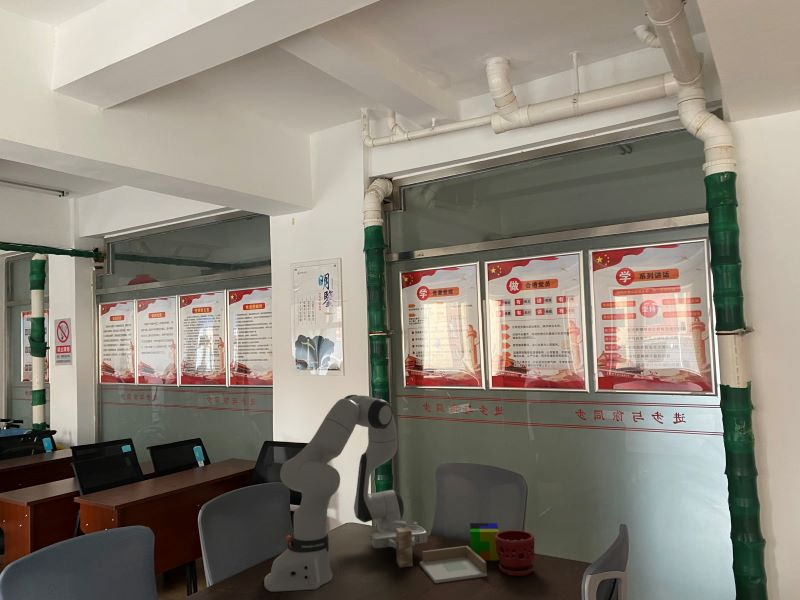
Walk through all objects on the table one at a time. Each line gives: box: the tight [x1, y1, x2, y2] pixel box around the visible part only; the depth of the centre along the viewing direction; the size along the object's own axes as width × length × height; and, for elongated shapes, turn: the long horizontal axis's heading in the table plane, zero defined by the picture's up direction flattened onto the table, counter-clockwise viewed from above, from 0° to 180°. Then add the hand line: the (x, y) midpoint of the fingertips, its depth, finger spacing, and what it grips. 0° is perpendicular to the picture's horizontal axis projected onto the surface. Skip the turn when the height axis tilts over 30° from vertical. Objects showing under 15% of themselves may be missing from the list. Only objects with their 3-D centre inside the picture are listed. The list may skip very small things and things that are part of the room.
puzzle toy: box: [469, 522, 500, 561], centre depth 223 cm, size 10×10×10 cm
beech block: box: [395, 527, 414, 568], centre depth 216 cm, size 4×4×12 cm
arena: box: [419, 545, 488, 584], centre depth 209 cm, size 18×17×4 cm
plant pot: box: [495, 529, 535, 577], centre depth 207 cm, size 13×13×12 cm
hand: (404, 544), depth 215 cm, fingers closed on beech block, 4 cm apart
